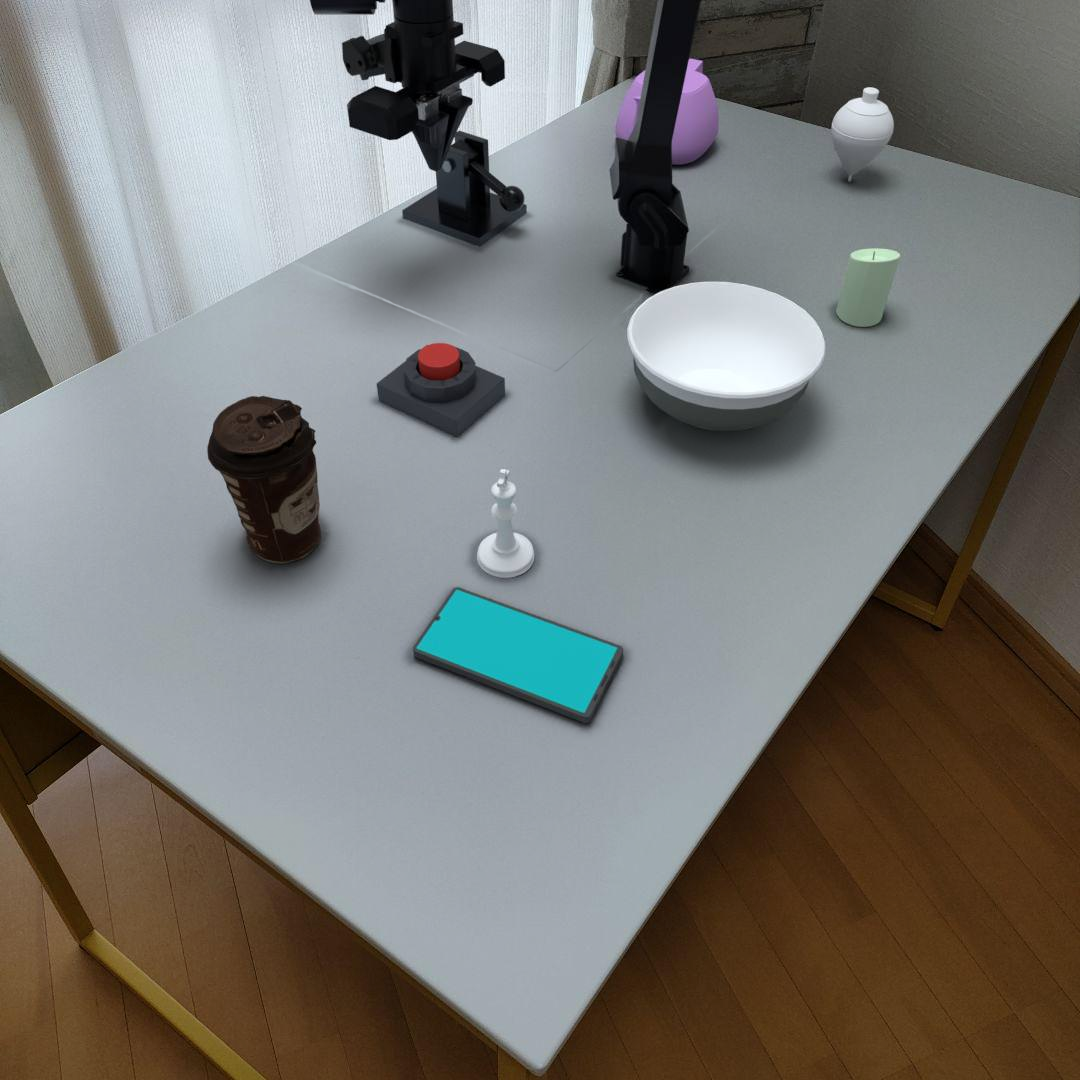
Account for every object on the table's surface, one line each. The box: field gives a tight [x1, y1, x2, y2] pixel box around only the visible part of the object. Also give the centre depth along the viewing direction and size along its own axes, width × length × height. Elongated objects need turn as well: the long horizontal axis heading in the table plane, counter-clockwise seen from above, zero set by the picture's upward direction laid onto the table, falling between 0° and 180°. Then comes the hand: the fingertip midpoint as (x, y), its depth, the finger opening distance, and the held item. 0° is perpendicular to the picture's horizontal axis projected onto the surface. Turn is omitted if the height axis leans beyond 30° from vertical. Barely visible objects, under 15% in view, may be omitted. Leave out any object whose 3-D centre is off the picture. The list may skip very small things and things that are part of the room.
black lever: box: [450, 139, 525, 212], centre depth 119 cm, size 11×3×3 cm, turn 56°
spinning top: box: [830, 86, 895, 182], centre depth 128 cm, size 8×8×12 cm
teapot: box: [614, 58, 719, 165], centre depth 135 cm, size 13×20×11 cm
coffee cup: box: [206, 395, 322, 564], centre depth 82 cm, size 9×8×13 cm
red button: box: [418, 342, 460, 380], centre depth 97 cm, size 4×4×2 cm
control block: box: [376, 344, 506, 438], centre depth 99 cm, size 10×8×4 cm
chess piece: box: [476, 468, 535, 579], centre depth 82 cm, size 5×5×10 cm
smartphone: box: [412, 587, 624, 724], centre depth 78 cm, size 7×1×15 cm
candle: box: [835, 247, 901, 328], centre depth 108 cm, size 5×5×8 cm
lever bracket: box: [401, 130, 528, 248], centre depth 122 cm, size 12×10×10 cm
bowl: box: [626, 281, 826, 432], centre depth 97 cm, size 19×19×8 cm
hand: (435, 169), depth 107 cm, fingers closed
